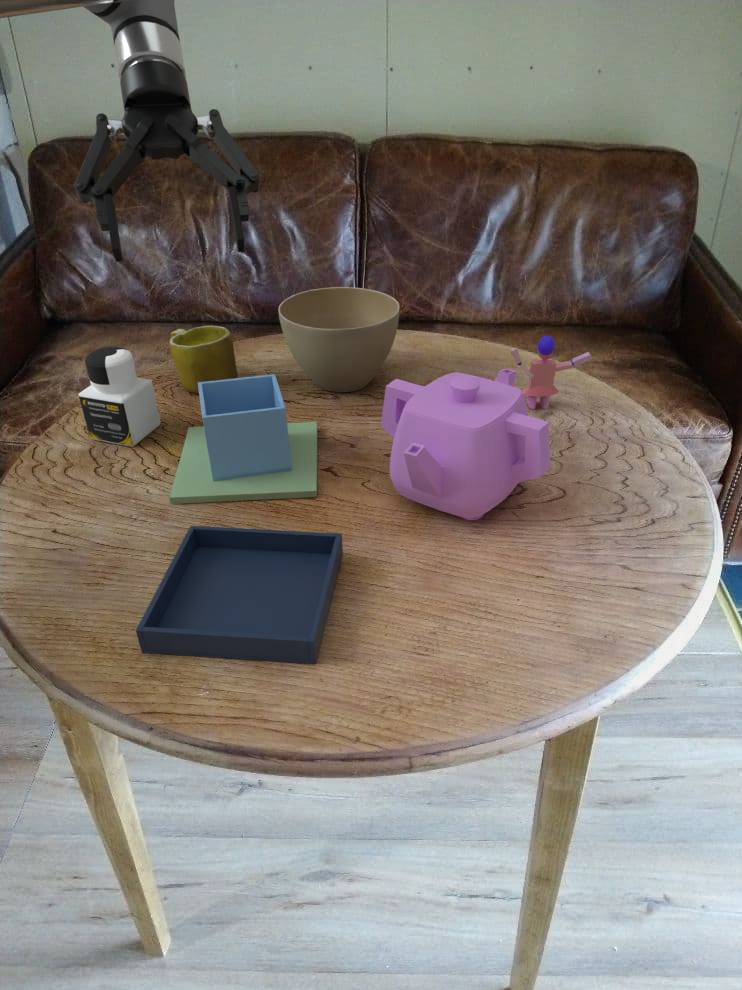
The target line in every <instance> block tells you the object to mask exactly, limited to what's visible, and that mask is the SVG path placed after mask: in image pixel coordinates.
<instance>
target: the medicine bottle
mask: <svg viewBox="0 0 742 990" xmlns="http://www.w3.org/2000/svg"><path fill="white" fill-rule="evenodd" d="M84 363H85V368H86V371H87V375H88V379H89V382H90V385H89V386H87V387H86V388H85V389H83V390H81V391H80V392H79V393H78V398H79V403H80V405H81V410H82V414H83V417H84V421H85V424H86V429H87V433H88V436H89V438H90V440H93V441H98V442H102V443H103V442H104V443H108V444H114V445H119V446H124V447H129V448H134V447H135V446H137V445H138V444H139V443H140V442H141V441H142V440H143V439H145V438H146V437H148V436H149V435H150V434H151V433H152V432H153V431H154V430H156V429H157V428H158V427H159V426H161V418H160V414H159V409H158V403H157V398H156V393H155V390H154V384H153V381H152V380H151V379H150V378H144V377H138V376H137V372H136V366H135V362H134V358H133V354H132V352H131V351H129V350H128V349H127V348H124V347H118V346H105V347H100V348H97V349H95V350H93V351H91V352H90V353H88V354H87V355H86V357H85V358H84Z"/></svg>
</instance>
